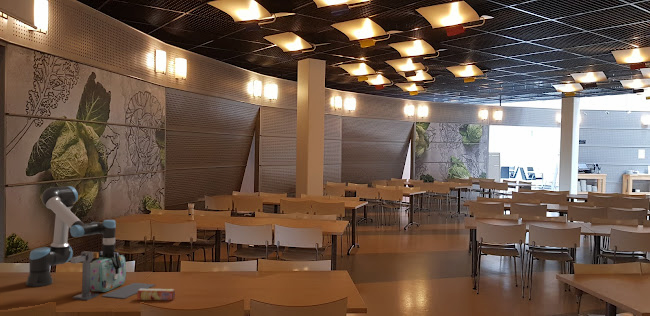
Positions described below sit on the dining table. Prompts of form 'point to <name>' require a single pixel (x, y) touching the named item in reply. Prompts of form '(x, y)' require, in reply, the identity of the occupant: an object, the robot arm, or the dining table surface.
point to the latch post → (86, 279)
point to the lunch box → (106, 274)
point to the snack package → (155, 294)
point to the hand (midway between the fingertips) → (108, 278)
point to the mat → (128, 290)
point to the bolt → (84, 257)
